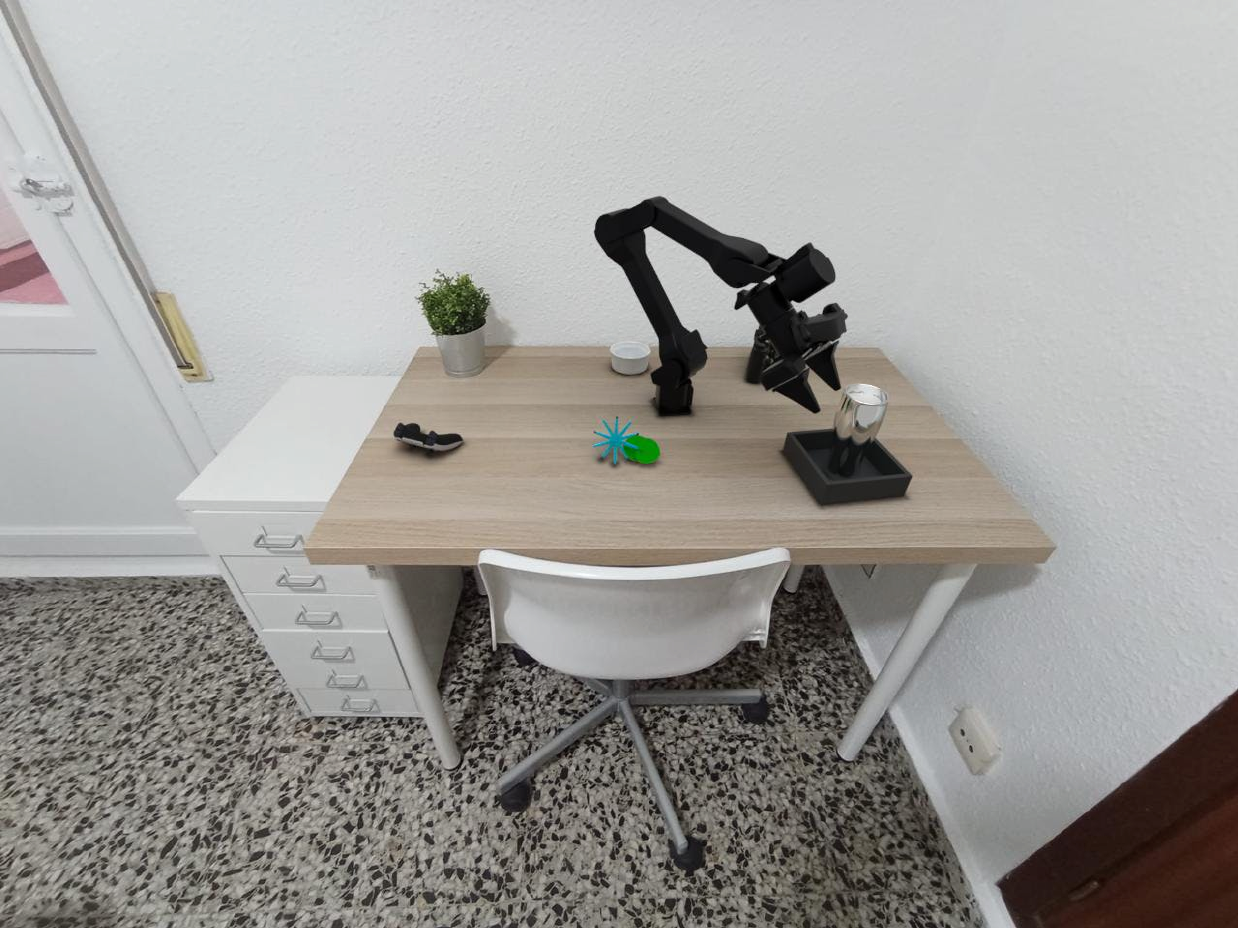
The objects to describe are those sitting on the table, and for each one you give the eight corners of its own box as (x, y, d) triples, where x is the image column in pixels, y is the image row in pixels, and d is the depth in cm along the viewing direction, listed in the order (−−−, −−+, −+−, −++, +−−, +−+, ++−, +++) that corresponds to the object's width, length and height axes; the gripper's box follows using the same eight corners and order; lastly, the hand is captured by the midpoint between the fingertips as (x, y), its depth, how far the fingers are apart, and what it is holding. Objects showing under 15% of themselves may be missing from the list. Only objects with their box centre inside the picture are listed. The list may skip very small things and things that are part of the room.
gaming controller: (408, 447, 100) (383, 439, 93) (415, 424, 100) (391, 414, 94) (459, 460, 97) (437, 453, 90) (466, 436, 97) (444, 427, 91)
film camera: (806, 389, 116) (818, 345, 110) (748, 387, 116) (756, 344, 110) (787, 352, 131) (796, 311, 125) (735, 350, 130) (742, 310, 124)
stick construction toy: (585, 453, 92) (601, 409, 92) (586, 452, 99) (601, 411, 99) (652, 478, 93) (668, 434, 92) (648, 475, 100) (663, 434, 99)
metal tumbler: (865, 486, 90) (895, 407, 81) (821, 480, 91) (845, 402, 82) (859, 461, 95) (886, 385, 86) (817, 456, 96) (840, 380, 87)
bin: (820, 505, 86) (827, 484, 84) (782, 451, 98) (787, 432, 95) (904, 496, 89) (913, 476, 86) (857, 445, 100) (863, 425, 98)
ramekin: (612, 356, 126) (613, 339, 124) (651, 360, 126) (652, 342, 123) (606, 374, 119) (607, 356, 117) (647, 378, 119) (648, 360, 116)
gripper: (796, 308, 75) (854, 404, 76) (842, 274, 87) (892, 358, 88) (735, 346, 83) (789, 432, 85) (786, 311, 95) (832, 386, 97)
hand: (828, 400), depth 88 cm, fingers open, 9 cm apart
